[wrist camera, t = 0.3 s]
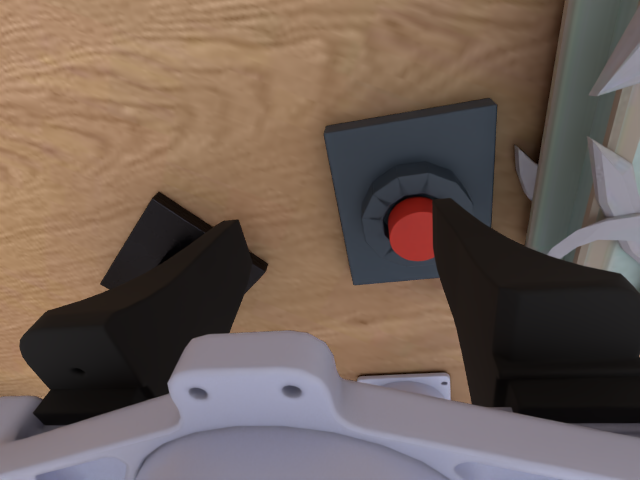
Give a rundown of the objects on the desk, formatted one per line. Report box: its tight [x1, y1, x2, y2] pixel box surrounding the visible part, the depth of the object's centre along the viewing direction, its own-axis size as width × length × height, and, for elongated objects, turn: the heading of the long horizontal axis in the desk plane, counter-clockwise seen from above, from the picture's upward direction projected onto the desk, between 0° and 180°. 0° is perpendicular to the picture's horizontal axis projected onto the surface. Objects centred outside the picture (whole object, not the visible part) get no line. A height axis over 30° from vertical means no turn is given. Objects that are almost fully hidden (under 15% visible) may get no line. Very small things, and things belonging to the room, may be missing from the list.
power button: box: [388, 197, 434, 261], centre depth 21 cm, size 3×3×2 cm
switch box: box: [324, 98, 497, 285], centre depth 23 cm, size 11×9×3 cm
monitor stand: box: [100, 192, 268, 294], centre depth 28 cm, size 9×10×4 cm
